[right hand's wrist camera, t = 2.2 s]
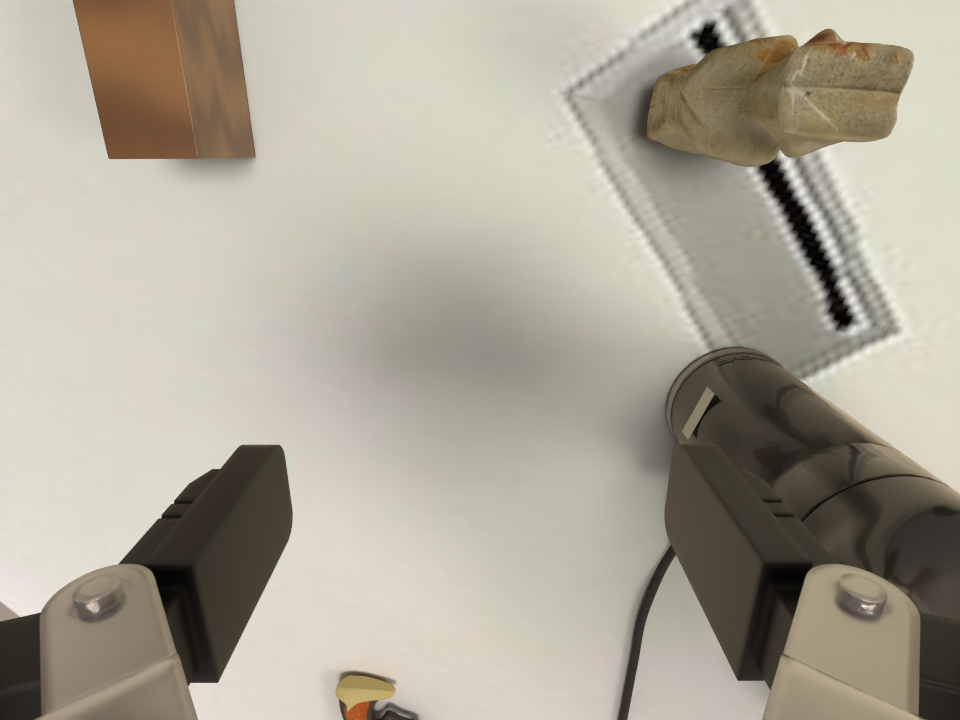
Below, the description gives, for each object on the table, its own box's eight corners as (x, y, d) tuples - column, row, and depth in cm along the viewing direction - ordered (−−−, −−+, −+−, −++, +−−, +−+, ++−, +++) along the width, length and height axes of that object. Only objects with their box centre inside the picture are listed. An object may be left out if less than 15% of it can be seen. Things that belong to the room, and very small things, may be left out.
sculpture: (733, 171, 37) (890, 183, 23) (627, 154, 36) (720, 155, 22) (761, 73, 35) (954, 20, 21) (649, 54, 34) (768, -14, 20)
